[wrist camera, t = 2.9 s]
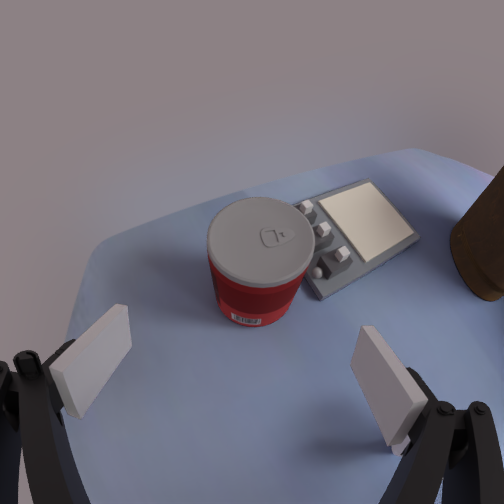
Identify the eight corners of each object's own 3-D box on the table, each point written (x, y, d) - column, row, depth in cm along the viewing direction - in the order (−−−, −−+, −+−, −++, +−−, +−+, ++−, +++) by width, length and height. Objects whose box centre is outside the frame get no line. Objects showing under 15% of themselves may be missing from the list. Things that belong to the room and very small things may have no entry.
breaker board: (366, 183, 39) (375, 163, 36) (416, 241, 34) (431, 224, 30) (266, 220, 34) (269, 198, 31) (320, 301, 29) (331, 285, 25)
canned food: (304, 307, 29) (336, 254, 19) (237, 343, 26) (236, 304, 17) (268, 252, 32) (280, 183, 23) (204, 281, 30) (189, 217, 20)
